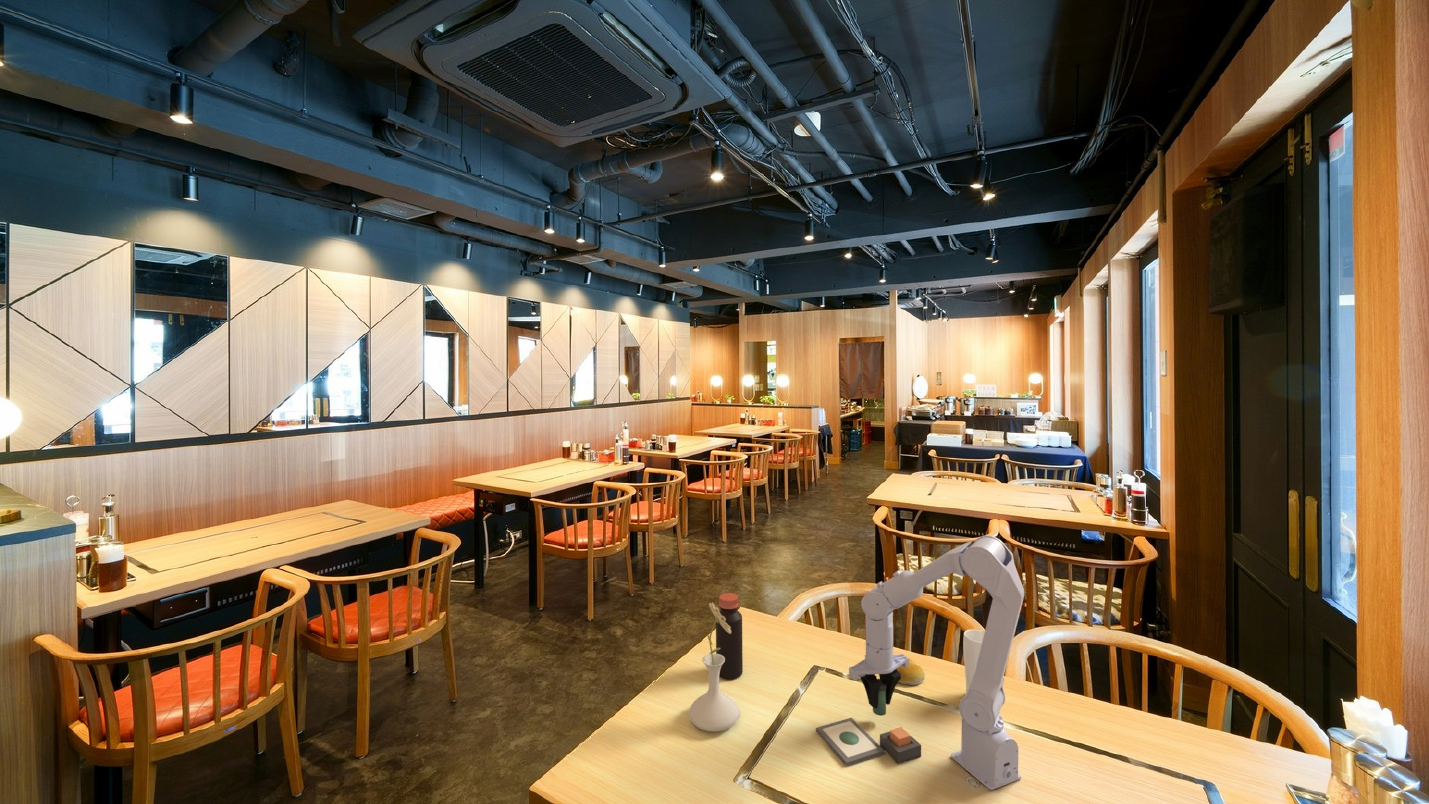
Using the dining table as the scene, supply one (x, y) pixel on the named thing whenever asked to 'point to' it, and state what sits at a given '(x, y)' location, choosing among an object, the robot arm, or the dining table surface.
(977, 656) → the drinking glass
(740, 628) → the bottle
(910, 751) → the button housing
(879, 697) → the marker
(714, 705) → the flower in vase
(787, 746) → the dining table surface
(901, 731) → the button
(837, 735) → the board
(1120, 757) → the dining table surface
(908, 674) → the bread roll
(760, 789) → the dining table surface
